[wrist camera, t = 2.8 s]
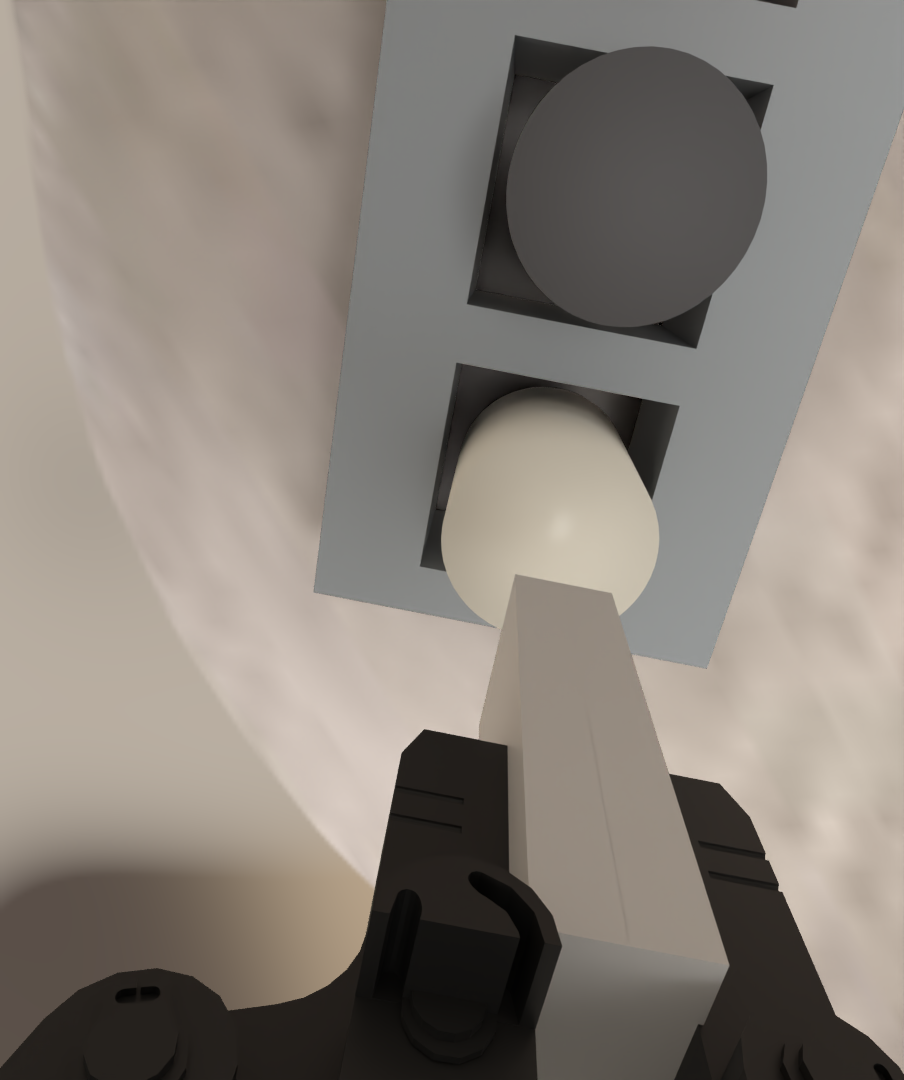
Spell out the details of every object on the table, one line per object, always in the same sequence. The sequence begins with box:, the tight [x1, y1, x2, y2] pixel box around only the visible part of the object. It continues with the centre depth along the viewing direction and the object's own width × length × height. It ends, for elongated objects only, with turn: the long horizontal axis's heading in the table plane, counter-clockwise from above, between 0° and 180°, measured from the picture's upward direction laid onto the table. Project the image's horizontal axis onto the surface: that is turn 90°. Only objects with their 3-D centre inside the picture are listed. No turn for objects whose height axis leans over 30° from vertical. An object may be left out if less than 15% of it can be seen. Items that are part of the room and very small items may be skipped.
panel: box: [314, 0, 904, 669], centre depth 21 cm, size 24×12×5 cm, turn 170°
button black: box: [506, 46, 767, 327], centre depth 18 cm, size 5×5×6 cm
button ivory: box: [441, 387, 659, 630], centre depth 21 cm, size 5×5×6 cm
